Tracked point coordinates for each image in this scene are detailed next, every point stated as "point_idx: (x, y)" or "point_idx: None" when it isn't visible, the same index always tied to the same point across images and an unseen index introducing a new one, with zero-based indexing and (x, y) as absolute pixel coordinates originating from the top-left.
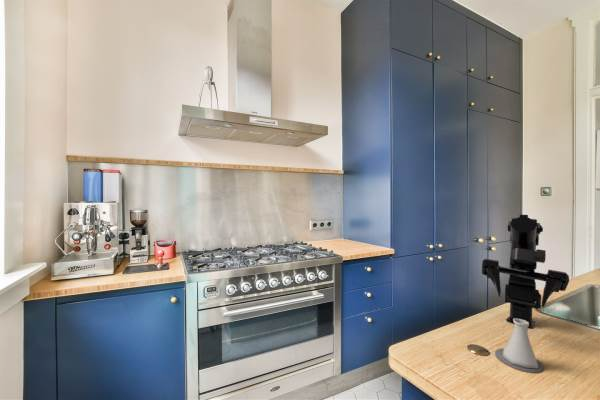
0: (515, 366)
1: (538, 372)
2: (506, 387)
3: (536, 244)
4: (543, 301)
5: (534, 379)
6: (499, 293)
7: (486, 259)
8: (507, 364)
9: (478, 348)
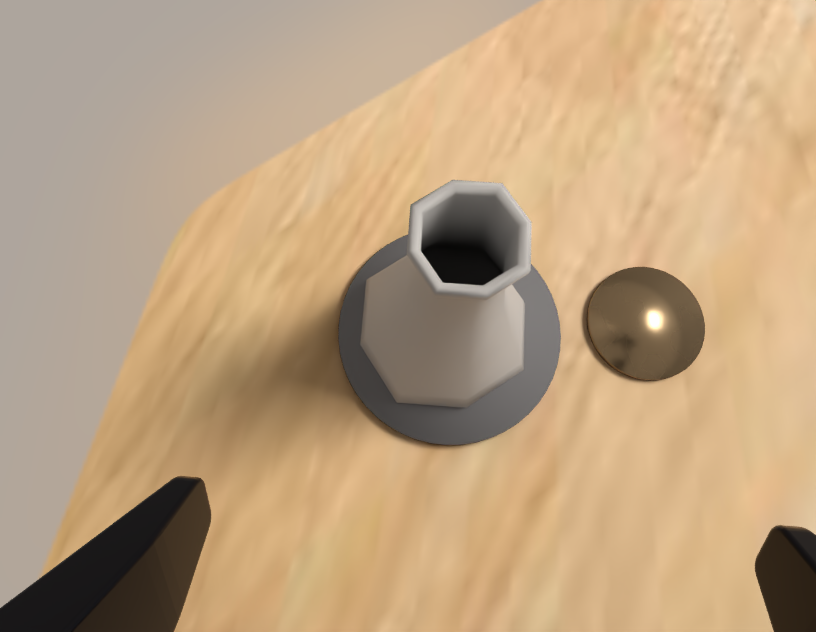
0: None
1: (370, 260)
2: (512, 60)
3: None
4: (157, 513)
5: (398, 188)
6: (809, 547)
7: None
8: None
9: (645, 336)
